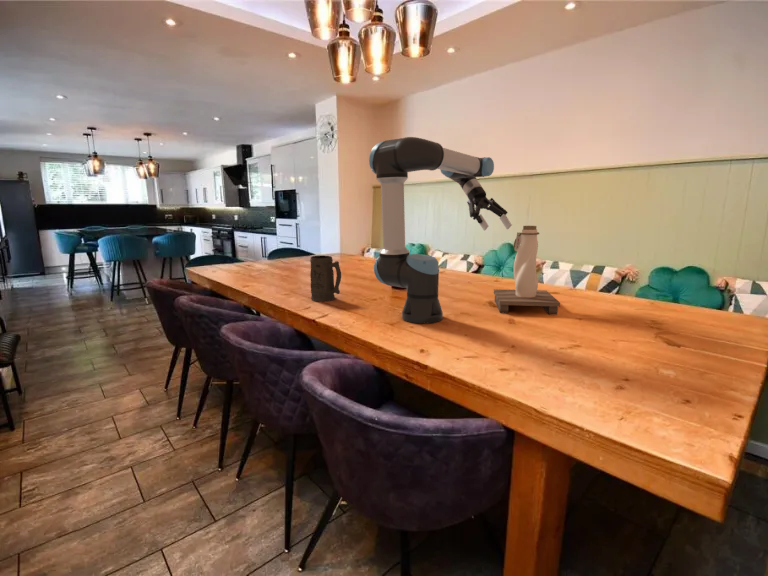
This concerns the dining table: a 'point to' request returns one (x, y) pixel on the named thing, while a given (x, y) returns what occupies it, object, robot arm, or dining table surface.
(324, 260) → the beer stein
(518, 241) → the water bottle
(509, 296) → the wooden riser
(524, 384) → the dining table surface
